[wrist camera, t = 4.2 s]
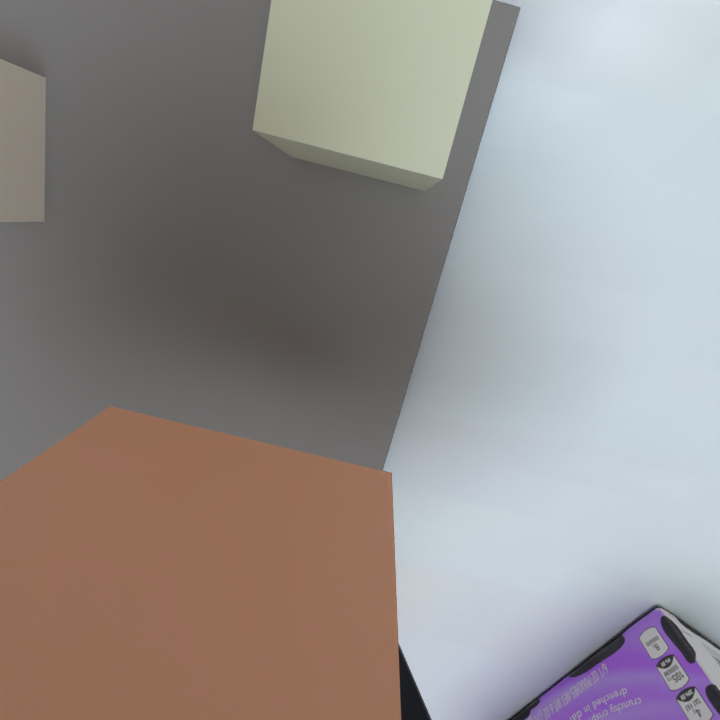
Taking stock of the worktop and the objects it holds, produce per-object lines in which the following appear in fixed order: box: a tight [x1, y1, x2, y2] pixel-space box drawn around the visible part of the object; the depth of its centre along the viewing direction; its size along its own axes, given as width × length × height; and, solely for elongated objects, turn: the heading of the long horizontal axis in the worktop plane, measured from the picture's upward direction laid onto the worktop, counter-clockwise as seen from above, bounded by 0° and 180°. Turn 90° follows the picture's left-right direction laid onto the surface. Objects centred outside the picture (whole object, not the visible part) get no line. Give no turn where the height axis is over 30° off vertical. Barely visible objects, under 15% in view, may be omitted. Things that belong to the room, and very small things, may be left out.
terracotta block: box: [0, 406, 401, 720], centre depth 6 cm, size 5×5×5 cm
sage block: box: [253, 0, 493, 191], centre depth 13 cm, size 5×5×5 cm
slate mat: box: [0, 0, 521, 482], centre depth 18 cm, size 27×21×1 cm
